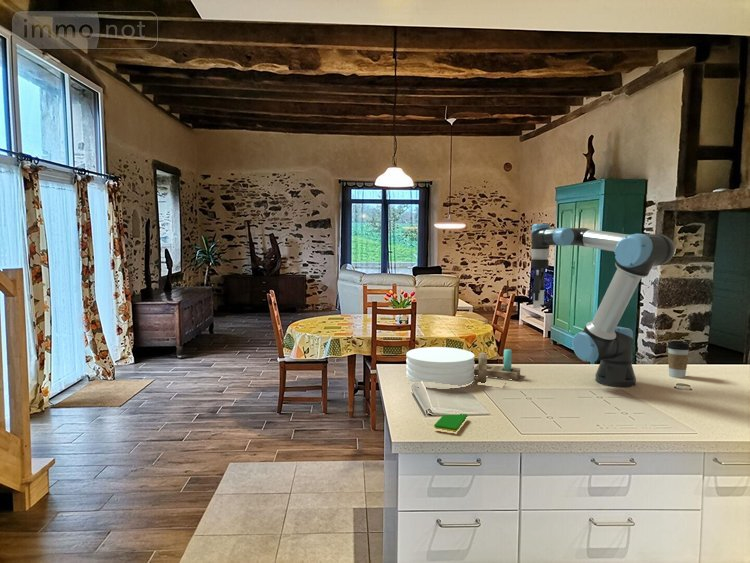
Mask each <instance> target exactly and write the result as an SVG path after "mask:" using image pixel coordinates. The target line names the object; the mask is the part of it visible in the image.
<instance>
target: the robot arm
mask: <svg viewBox="0 0 750 563" xmlns="http://www.w3.org/2000/svg"><path fill="white" fill-rule="evenodd" d="M530 234H531V242H530V243H531V245H530V246H531V249H530V251H529V253H530V255H531V257H530V258H531V259H530V268H533V269H534V268H535V270H534V278H533V285H532V286H533V288H532V290H531V294H533V304H532V307H533V309H541V305H543V306H544V305H545V291H546V290H547V288H546V286H545V274H546V273H545V269H546V268H547V269H548V268H549V266H550V263H549V262H550V260H549V258H550V246H559V247H566V246H579V247H586V248H593V249H596V250H597V249H598V250H603V251H607V252H614V255H615V256H614V258H615V260H616V261H615V263H614V264H615V267H616V270H615V273H614V274H613V277H612V279H611V281H610V283H609V285H608V287H607V289H606V292H605V294H604V296H603V297H602V299H601V302H600V304H599V306H598V308H597V311H596V313H595V314H594V316H593V319H592V321H588V322H587V323H586V324H585V326H584V328H583V330H582V331H579V332H577V333H576V334H575V335H573V337H572V342H571V345H572V346H571V347H572V349H573V352H574V354H575V355H576V357H578V359H580V360H581V361H583V362H588V363H589V362H590V363H591V362H592V363H593V362H597V361H600V363H599V365H598V368H597V370H596V372H595V378H594V380H595V382H597V383H599V384H601V385H604V386H609V387H610V386H611V387H617V388H618V387H619V388H631V387H634V386H636V385H637V377H636V374H635V371H634V366H633V347H634V346H633V345H634V332H633V330H632V329H631V328H627V327H622V326H618V324H619V322H620V320H621V319H622V316H623V314H624V312H625V311H626V308H627V306H628V305H629V303H630V300H631V298H632V297H633V296H634V295H633V294H634V293H635V291H636V289H637V287H638V286H639V283H640V281H641V280H642V278H646V277H648V276H649V274H650V272H651V270H652V268H653V267H659V266H662V265H666V264H667V263H668V262H670V260H671V259H673V256H674V254H675V252H676V250H675V249H676V248H675V243H674V242H673V240H672V239H671V238H670V237H668V236H666V235H664V234H661V233H649V234H648V233H634V234H633V233H631V234H625V233H619V232H611V231H605V230H604V231H603V230H597V229H591V228H587V227H550V224H549V223H533V225H531V232H530Z"/></svg>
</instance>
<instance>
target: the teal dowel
mask: <svg viewBox="0 0 750 563" xmlns="http://www.w3.org/2000/svg"><path fill="white" fill-rule="evenodd" d="M512 352H513V351H512V349H510V348H508V349H507V348H505V349H503V366H504V371H511V367H512V362H513V360H512V357H513V355H512V354H513V353H512Z"/></svg>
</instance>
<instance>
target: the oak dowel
mask: <svg viewBox="0 0 750 563" xmlns="http://www.w3.org/2000/svg"><path fill="white" fill-rule="evenodd" d="M487 359H488V353H487V352H479V353H478V364H479V373H478V378H477V380H478V381H477V382H481V383H485V382H486V380H487V378H486V376H487V365H488V360H487Z"/></svg>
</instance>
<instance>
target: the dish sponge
mask: <svg viewBox="0 0 750 563" xmlns="http://www.w3.org/2000/svg"><path fill="white" fill-rule="evenodd" d="M462 414H463V415H462ZM466 417H468V414H466V413H461V414H460V415H444V414H442V416H441V417H440V418H439V419H438V420H437V421H436V422H435V423H434V425H433V426H434V427H433V428H436V429H442V430H447V431H453V432H456V431H457V430H458V429H459V428H460V426H461V425H462V423H463V422H464V421H465V419H466Z"/></svg>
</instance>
